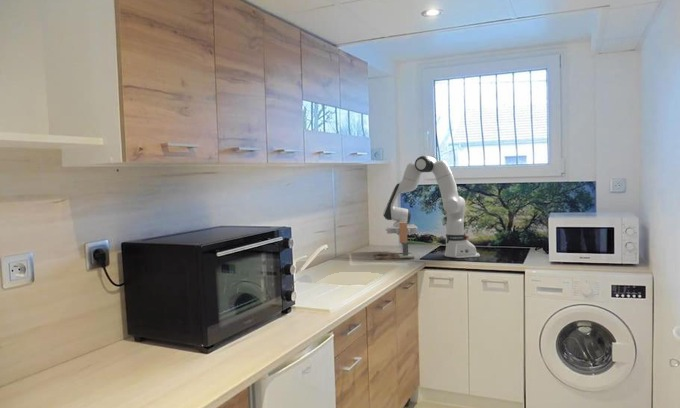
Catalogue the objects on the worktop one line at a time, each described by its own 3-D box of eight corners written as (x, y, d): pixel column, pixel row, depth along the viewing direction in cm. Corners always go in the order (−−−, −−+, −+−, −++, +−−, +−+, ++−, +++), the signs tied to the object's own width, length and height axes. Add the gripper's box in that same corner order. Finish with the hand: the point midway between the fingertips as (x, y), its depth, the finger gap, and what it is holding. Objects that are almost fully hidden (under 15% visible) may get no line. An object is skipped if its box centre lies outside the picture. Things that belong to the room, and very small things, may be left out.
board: (410, 255, 336) (410, 252, 336) (414, 260, 318) (414, 257, 318) (374, 256, 336) (374, 253, 336) (376, 261, 318) (375, 258, 318)
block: (406, 241, 331) (406, 222, 330) (407, 242, 326) (407, 222, 325) (399, 242, 331) (399, 222, 330) (400, 243, 326) (400, 223, 325)
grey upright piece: (411, 255, 325) (410, 241, 324) (412, 257, 317) (412, 243, 316) (398, 255, 325) (398, 241, 324) (400, 257, 317) (399, 243, 316)
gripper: (385, 224, 341) (387, 227, 327) (415, 223, 341) (418, 226, 327) (385, 233, 341) (387, 236, 327) (415, 233, 341) (419, 235, 327)
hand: (403, 231), depth 327 cm, fingers closed on block, 4 cm apart
